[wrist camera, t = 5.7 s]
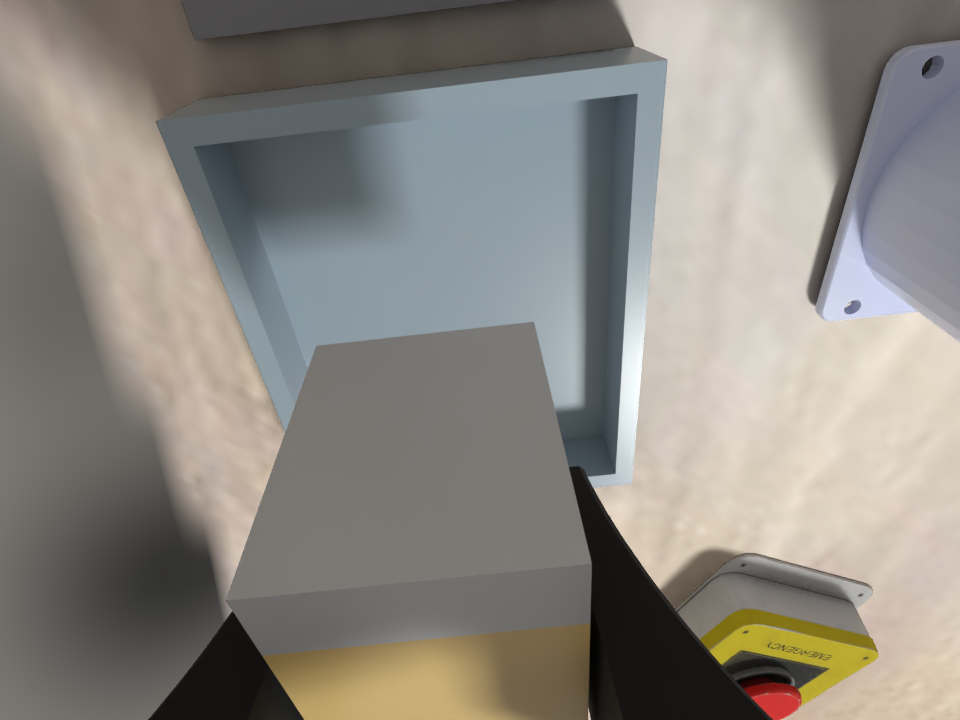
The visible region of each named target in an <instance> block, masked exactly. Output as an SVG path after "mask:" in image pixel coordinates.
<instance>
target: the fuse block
mask: <svg viewBox="0 0 960 720" xmlns="http://www.w3.org/2000/svg"><path fill="white" fill-rule="evenodd" d="M507 1H515V0H181V2H182V5H183V8H184V11H185V14H186V16H187V19H188V22H189V25H190V28H191V31H192V34H193V36H194V39H195V40H201V39H209V38H217V37H225V36H233V35H241V34H249V33H257V32H265V31H274V30H282V29H290V28H298V27H306V26H314V25H322V24H330V23H338V22H346V21H354V20H362V19H370V18H378V17H386V16H394V15H402V14H410V13H418V12H426V11H434V10H443V9H451V8H459V7H467V6H475V5H483V4H491V3H499V2H507Z"/></svg>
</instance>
